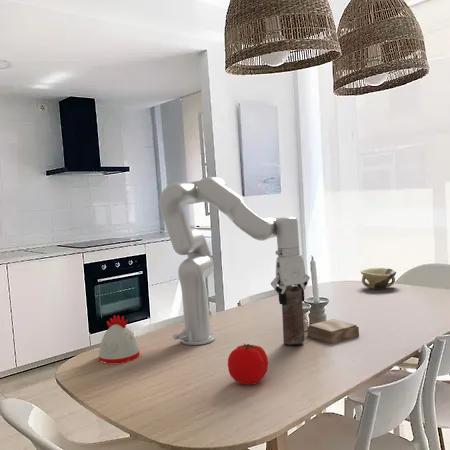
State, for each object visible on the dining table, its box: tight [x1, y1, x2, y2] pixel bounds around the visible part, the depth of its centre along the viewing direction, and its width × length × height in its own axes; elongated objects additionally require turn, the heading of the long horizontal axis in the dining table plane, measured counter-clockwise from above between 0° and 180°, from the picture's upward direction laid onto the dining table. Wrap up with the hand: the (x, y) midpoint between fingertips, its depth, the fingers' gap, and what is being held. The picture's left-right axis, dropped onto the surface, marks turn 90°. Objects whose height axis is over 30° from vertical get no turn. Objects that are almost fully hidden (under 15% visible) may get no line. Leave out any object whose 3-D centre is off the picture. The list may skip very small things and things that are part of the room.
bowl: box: [360, 267, 397, 290], centre depth 255 cm, size 18×18×10 cm
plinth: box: [306, 318, 360, 344], centre depth 179 cm, size 13×13×4 cm
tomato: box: [227, 343, 269, 386], centre depth 141 cm, size 12×12×11 cm
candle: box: [281, 285, 306, 346], centre depth 173 cm, size 8×7×20 cm
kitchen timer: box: [98, 314, 141, 364], centre depth 172 cm, size 14×14×15 cm
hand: (292, 302), depth 172 cm, fingers closed on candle, 7 cm apart
